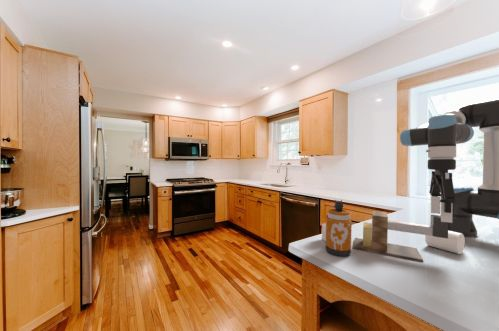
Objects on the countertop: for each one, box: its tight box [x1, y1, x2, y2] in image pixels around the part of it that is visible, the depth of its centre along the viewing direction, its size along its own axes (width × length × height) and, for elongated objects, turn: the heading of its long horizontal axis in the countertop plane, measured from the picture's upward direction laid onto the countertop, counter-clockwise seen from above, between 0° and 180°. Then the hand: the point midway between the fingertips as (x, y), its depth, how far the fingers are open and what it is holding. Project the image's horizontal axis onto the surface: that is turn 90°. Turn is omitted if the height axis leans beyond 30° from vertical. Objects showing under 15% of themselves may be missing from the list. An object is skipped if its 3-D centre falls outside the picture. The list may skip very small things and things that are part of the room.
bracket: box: [352, 210, 424, 262], centre depth 84 cm, size 22×12×14 cm, turn 60°
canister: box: [325, 199, 353, 257], centre depth 81 cm, size 9×11×20 cm
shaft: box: [388, 214, 448, 238], centre depth 80 cm, size 20×4×7 cm, turn 60°
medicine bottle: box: [321, 213, 328, 242], centre depth 92 cm, size 7×7×12 cm
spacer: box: [362, 221, 372, 248], centre depth 87 cm, size 3×8×8 cm, turn 150°
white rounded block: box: [424, 231, 466, 255], centre depth 86 cm, size 12×10×8 cm
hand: (440, 217), depth 76 cm, fingers open, 13 cm apart
